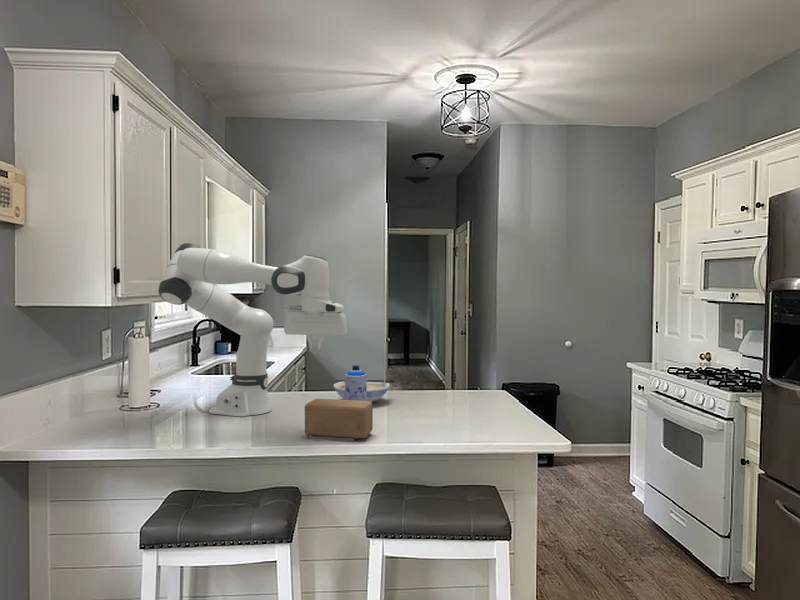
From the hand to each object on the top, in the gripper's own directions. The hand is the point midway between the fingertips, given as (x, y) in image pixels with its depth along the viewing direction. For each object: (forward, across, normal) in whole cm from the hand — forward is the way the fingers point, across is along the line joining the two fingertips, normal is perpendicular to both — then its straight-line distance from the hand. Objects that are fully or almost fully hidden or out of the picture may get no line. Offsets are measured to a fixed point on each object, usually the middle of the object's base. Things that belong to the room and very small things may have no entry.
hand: (315, 349), depth 187 cm
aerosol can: (+28, +9, +17) cm, 34 cm away
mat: (+28, +7, 0) cm, 28 cm away
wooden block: (+22, -2, 0) cm, 22 cm away
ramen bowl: (+28, +3, +50) cm, 57 cm away
